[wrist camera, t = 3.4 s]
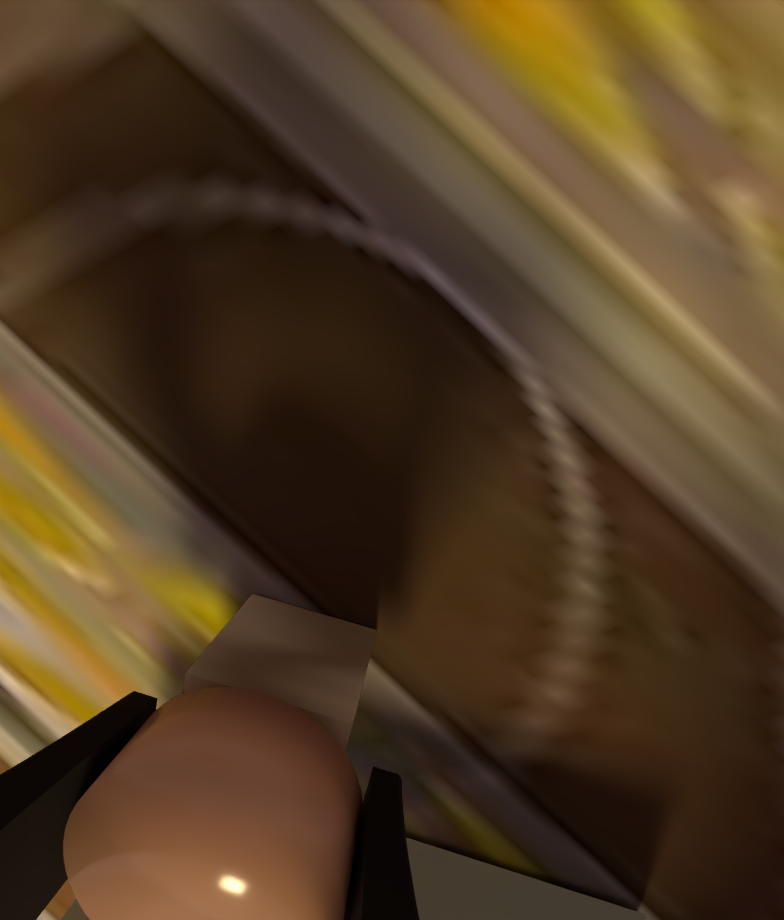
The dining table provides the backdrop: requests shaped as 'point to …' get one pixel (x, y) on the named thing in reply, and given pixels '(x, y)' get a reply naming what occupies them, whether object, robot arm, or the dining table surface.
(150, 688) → the dining table surface
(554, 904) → the pull-out drawer
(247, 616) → the block
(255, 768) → the rounded lump
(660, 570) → the dining table surface
